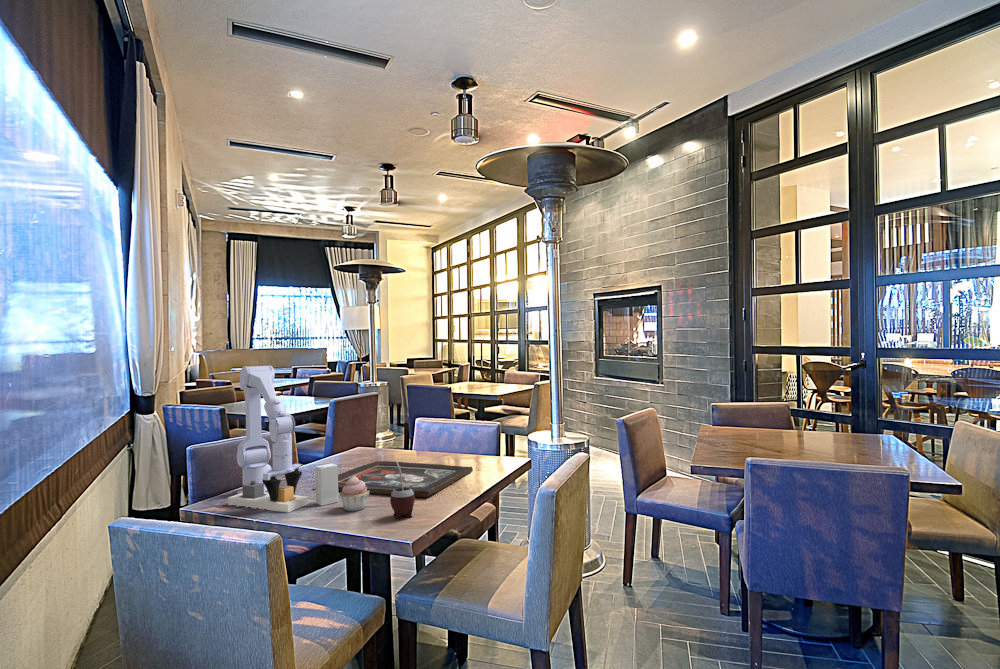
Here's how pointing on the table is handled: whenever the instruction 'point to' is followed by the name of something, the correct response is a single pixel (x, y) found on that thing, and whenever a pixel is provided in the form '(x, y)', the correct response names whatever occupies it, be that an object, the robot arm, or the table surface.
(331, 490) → the skincare box
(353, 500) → the cupcake
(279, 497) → the orange block
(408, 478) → the religious icon
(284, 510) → the white recessed tray
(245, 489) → the twin plug
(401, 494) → the mate gourd
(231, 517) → the table surface
